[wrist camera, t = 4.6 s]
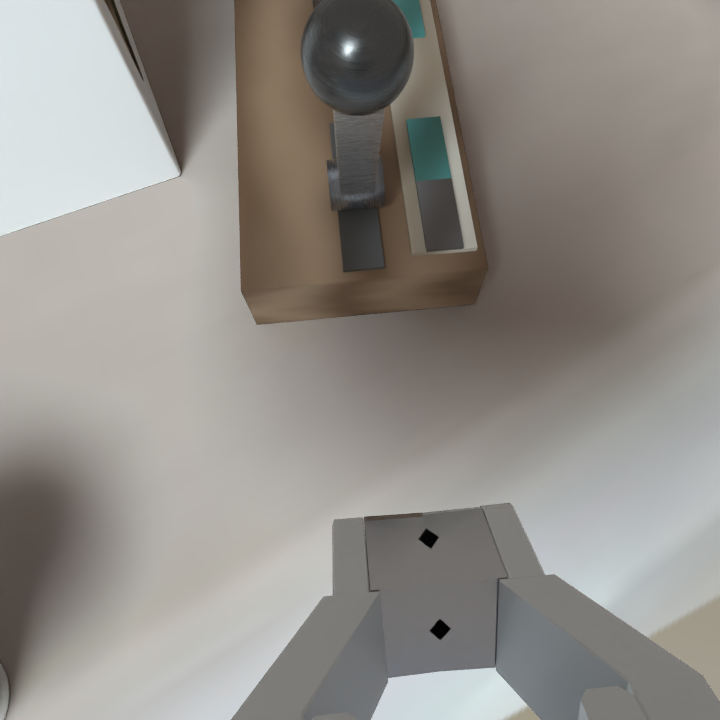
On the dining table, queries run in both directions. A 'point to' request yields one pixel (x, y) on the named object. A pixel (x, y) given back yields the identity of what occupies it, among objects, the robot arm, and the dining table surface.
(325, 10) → the lever
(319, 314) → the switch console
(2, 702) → the cup with straw
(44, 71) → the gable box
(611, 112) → the dining table surface
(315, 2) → the lever
